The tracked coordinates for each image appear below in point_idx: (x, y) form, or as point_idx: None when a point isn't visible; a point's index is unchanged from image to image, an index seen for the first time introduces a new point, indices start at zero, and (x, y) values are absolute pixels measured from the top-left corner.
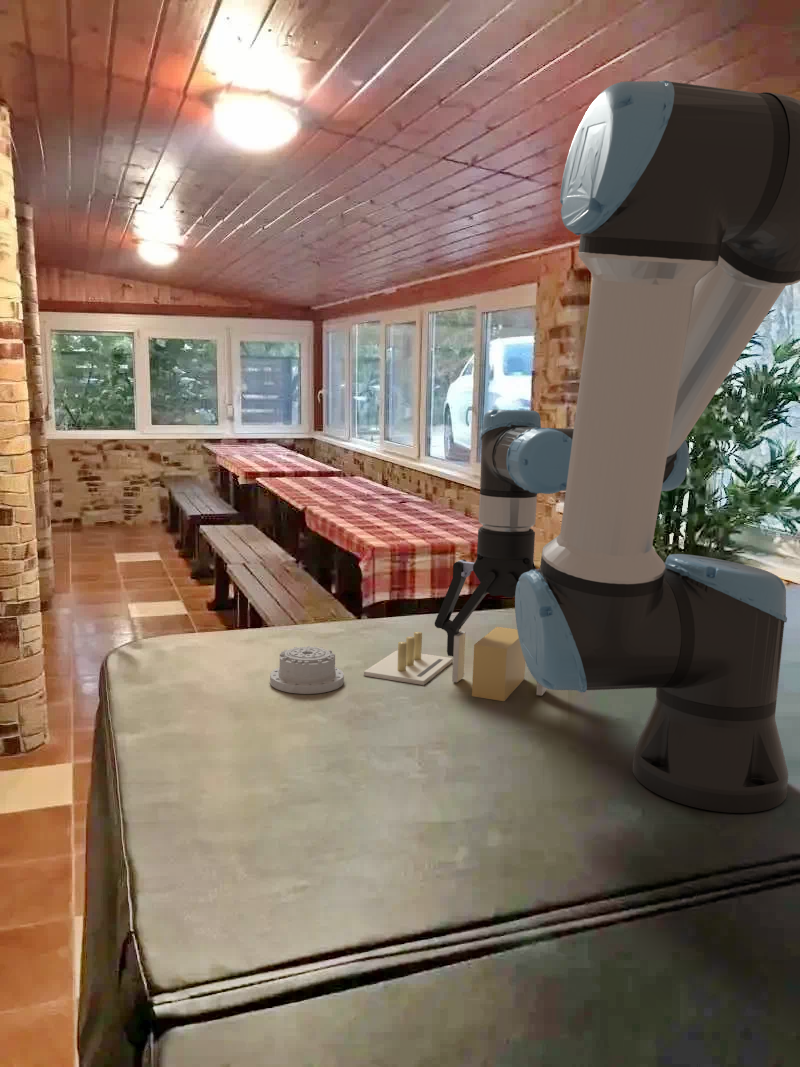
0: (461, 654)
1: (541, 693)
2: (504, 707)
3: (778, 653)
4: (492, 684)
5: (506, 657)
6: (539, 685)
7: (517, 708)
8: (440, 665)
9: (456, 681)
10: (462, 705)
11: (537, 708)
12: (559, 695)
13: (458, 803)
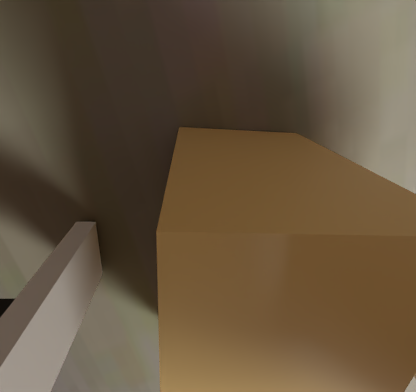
0: None
1: (75, 224)
2: (160, 60)
3: None
4: (233, 140)
5: (164, 196)
6: (73, 240)
7: (111, 71)
8: None
9: None
10: (321, 9)
11: (45, 104)
12: (38, 255)
13: None
